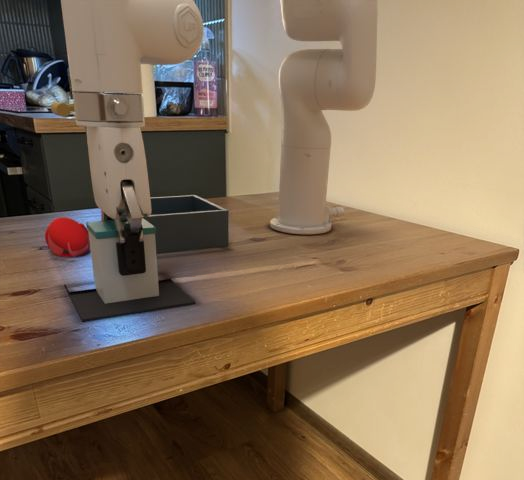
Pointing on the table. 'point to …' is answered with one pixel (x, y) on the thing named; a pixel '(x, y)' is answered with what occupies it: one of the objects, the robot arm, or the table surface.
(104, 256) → the container
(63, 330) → the table surface
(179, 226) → the chest
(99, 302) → the mat
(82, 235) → the cap
